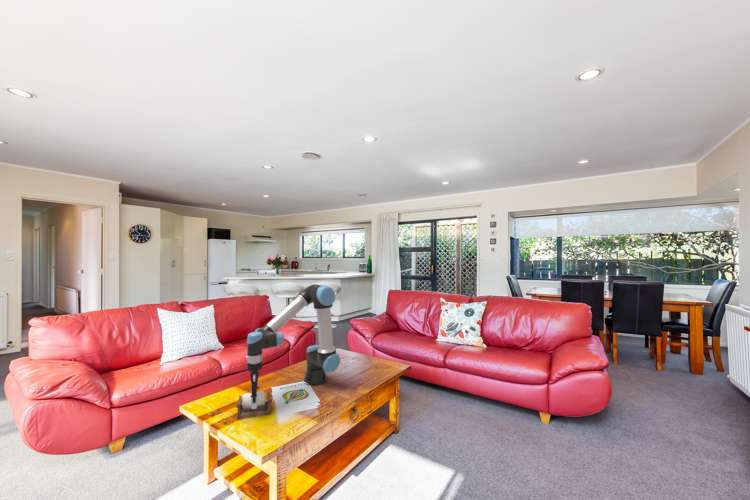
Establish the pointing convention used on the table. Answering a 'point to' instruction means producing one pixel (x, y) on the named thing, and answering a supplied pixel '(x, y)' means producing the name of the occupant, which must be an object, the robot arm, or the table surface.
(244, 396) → the roll
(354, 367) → the table surface
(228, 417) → the table surface
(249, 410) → the holder
